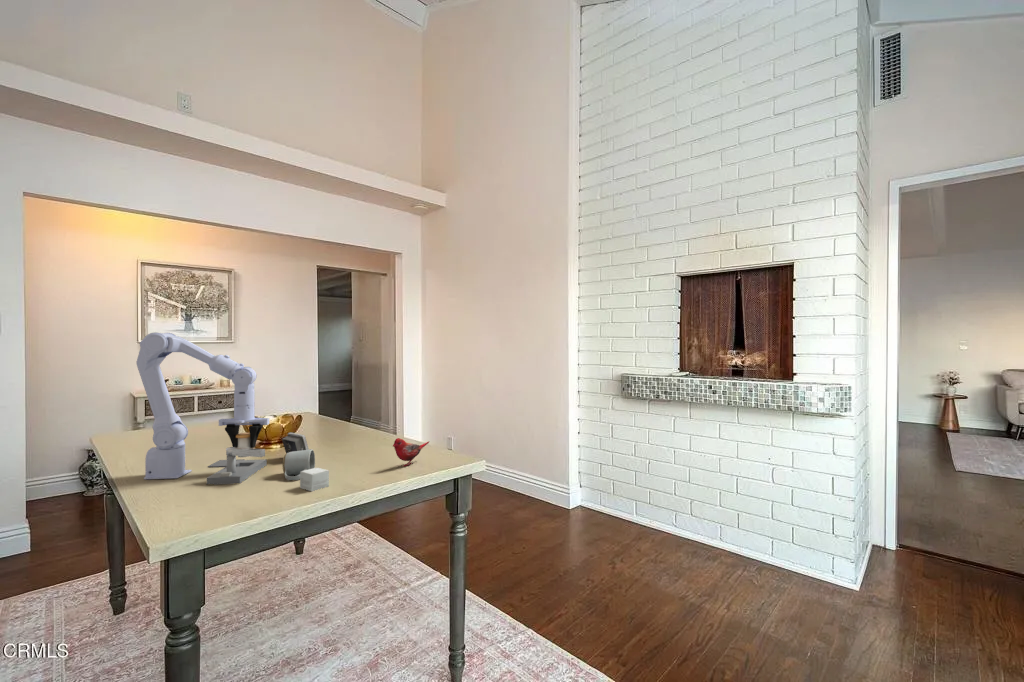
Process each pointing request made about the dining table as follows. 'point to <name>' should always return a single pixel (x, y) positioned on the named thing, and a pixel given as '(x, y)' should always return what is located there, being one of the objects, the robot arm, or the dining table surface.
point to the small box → (314, 479)
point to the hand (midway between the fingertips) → (244, 447)
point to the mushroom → (243, 441)
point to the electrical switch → (295, 442)
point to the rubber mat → (221, 463)
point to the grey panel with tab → (236, 471)
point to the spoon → (245, 452)
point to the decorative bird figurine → (407, 450)
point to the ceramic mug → (298, 463)
